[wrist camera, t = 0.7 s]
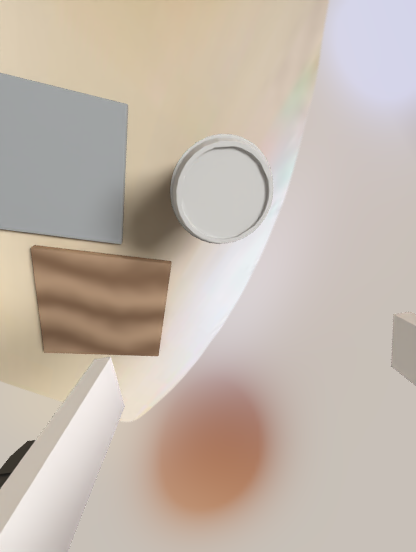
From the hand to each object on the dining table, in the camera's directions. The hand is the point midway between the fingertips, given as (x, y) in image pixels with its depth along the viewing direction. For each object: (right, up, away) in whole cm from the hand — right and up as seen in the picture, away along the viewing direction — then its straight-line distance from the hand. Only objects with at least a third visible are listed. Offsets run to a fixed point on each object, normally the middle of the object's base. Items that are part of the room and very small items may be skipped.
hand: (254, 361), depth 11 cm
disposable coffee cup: (-2, +16, +21) cm, 26 cm away
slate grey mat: (-20, +16, +17) cm, 31 cm away
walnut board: (-18, -1, +27) cm, 32 cm away
